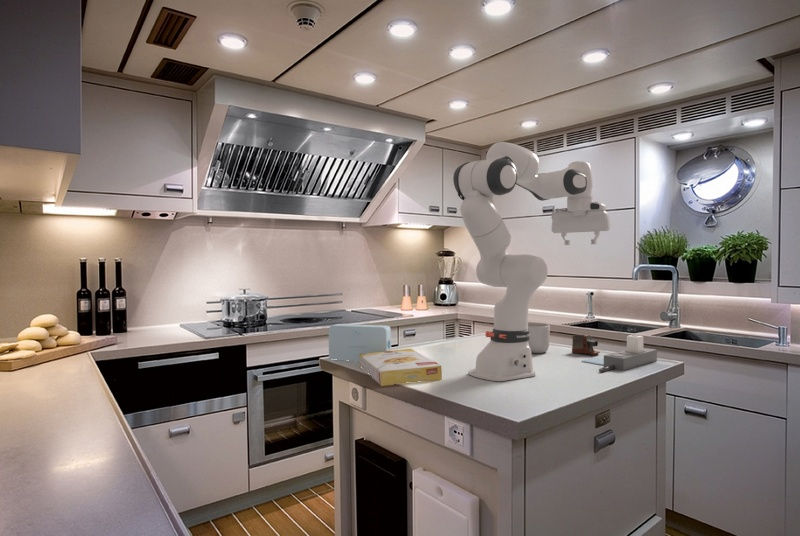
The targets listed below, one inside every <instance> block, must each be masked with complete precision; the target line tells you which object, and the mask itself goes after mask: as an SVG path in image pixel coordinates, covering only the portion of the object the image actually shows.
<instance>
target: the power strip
mask: <svg viewBox="0 0 800 536" xmlns="http://www.w3.org/2000/svg"><path fill="white" fill-rule="evenodd" d="M603 359H604V365H603V367H602V368H599V369H598V371H599V373H604V372H607V371H612V370H619V371H627V370H630V369H632V368H636V367H639V366H644V365H646V364H651V363H653V362H657V360H658V349H657V348H656V349H654V348H647V347H643V352H642V353H633V352H627V349H624V350H620V351H617V352H612V353H607V354H605V355H603Z"/></svg>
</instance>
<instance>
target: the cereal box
mask: <svg viewBox="0 0 800 536" xmlns="http://www.w3.org/2000/svg"><path fill="white" fill-rule="evenodd" d="M358 364H359V368H360V367H362V368H363V369H364V370H365V371H366V372H367V373H369V374H370V375H371V376H372V377H371V376H370V375H369V376H370V377H371V378H372V379H373V380H374V381H375V382H376V383H378V384H379V386H381V387H383V386H393V385H394V384H395V383H406V382H416V383H419V382H418V381H426V382H434V380H436V381H441V380H442V379H443V377H442V375H443V373H442V372H443V371H442V370H443V368H442V365H441V364H440V363H438V362H436V361H434V360H432V359H430V358H428V357H427V356H425V355H423V354H421V353H420V352H418V351H417V350H414V349H412V348H404V349H396V350H391V351H384V352H374V353H364V354H360V355H359V362H358ZM362 368H361V369H362ZM363 369H362V370H363ZM364 370H363V371H364ZM365 371H364V372H365ZM366 372H365V373H366ZM367 373H366V374H367ZM406 384H407V383H406Z"/></svg>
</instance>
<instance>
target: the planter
mask: <svg viewBox="0 0 800 536" xmlns="http://www.w3.org/2000/svg"><path fill="white" fill-rule="evenodd" d="M528 329H529V333H530V336H529V341H528V343H529V347H530V349H531V354H544V353H546V352H547V351H548V350H549V347H550V338H551V337H550V334H551V333H550V332H551V325H550V324H548V323H541V322H528Z"/></svg>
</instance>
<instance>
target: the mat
mask: <svg viewBox="0 0 800 536" xmlns="http://www.w3.org/2000/svg"><path fill="white" fill-rule="evenodd" d="M581 362H582V363H587V364H592V365H599V366H604V358H599V357H592V358H591V357H590V358H586V359H584V360H581Z"/></svg>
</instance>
